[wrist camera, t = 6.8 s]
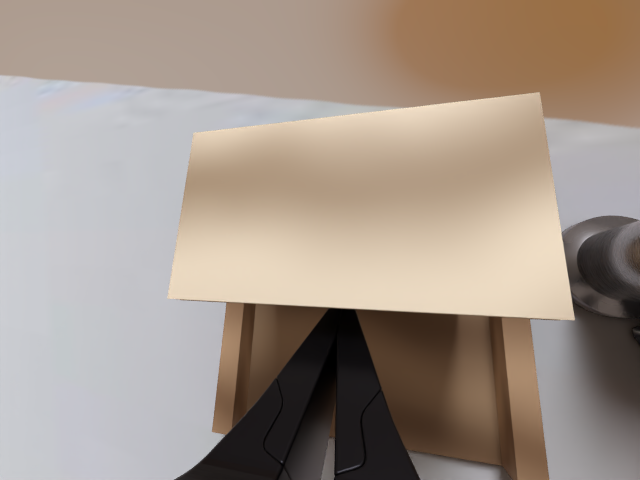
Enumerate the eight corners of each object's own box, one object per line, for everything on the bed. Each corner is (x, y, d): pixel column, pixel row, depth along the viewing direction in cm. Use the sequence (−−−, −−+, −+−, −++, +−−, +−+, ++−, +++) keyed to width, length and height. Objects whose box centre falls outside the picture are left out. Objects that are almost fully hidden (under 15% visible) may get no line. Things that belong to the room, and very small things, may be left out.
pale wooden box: (461, 307, 14) (577, 322, 6) (274, 298, 17) (165, 300, 8) (453, 203, 16) (541, 90, 7) (281, 209, 18) (192, 131, 10)
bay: (525, 465, 13) (566, 512, 10) (231, 416, 17) (200, 441, 14) (496, 184, 16) (521, 160, 13) (253, 196, 20) (231, 179, 17)
